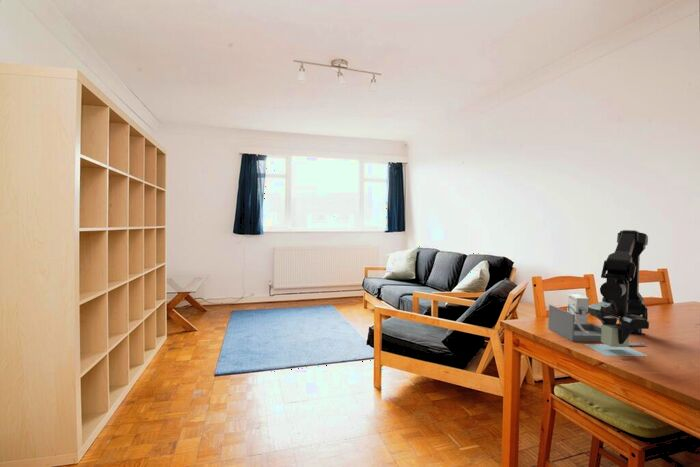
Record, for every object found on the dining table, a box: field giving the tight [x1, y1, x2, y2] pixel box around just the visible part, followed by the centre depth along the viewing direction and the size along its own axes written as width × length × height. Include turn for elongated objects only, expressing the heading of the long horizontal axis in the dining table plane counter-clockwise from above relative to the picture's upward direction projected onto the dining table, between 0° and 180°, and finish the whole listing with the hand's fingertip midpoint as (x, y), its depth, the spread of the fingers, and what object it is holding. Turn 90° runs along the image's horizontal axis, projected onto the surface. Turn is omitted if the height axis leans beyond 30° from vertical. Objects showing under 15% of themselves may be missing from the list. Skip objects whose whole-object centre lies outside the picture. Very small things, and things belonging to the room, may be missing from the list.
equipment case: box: [547, 304, 602, 342], centre depth 129 cm, size 18×14×10 cm
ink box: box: [566, 293, 590, 324], centre depth 145 cm, size 9×5×12 cm, turn 168°
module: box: [600, 324, 630, 348], centre depth 114 cm, size 6×4×6 cm
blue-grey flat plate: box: [583, 343, 648, 357], centre depth 114 cm, size 14×10×1 cm
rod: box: [629, 341, 647, 347], centre depth 118 cm, size 8×1×1 cm, turn 91°
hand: (615, 341), depth 114 cm, fingers closed on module, 4 cm apart
